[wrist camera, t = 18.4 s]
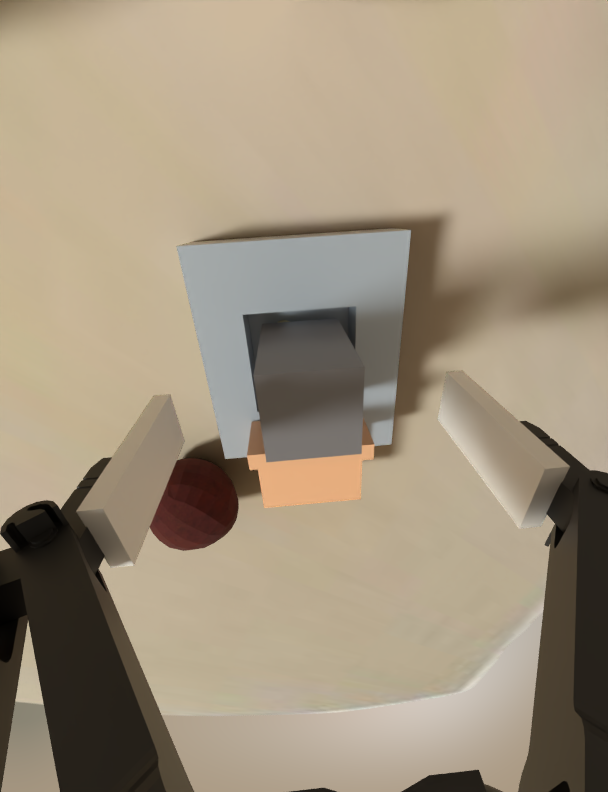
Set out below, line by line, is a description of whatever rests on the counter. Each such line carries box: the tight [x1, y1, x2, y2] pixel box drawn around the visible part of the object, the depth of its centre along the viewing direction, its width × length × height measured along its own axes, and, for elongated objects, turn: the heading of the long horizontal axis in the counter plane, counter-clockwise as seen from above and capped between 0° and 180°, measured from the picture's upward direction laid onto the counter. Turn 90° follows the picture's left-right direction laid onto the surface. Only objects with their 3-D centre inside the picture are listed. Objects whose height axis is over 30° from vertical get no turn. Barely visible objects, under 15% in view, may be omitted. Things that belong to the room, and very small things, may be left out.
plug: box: [253, 318, 365, 462], centre depth 20 cm, size 5×5×9 cm
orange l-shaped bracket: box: [247, 418, 375, 508], centre depth 24 cm, size 8×8×4 cm
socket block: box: [177, 228, 411, 459], centre depth 23 cm, size 15×13×4 cm
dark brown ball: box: [150, 458, 238, 551], centre depth 27 cm, size 7×8×7 cm
